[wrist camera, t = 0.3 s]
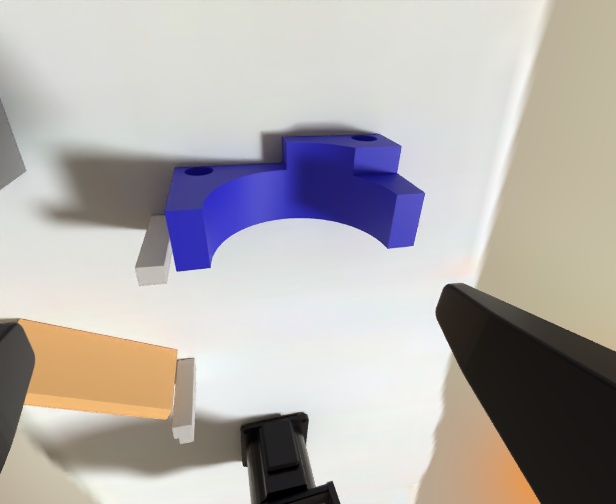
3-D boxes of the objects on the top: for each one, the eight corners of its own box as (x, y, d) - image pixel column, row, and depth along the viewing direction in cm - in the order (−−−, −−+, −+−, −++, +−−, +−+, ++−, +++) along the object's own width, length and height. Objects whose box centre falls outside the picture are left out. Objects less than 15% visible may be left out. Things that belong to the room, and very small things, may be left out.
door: (177, 349, 25) (172, 409, 21) (168, 367, 26) (161, 428, 22) (20, 318, 21) (-26, 386, 17) (13, 340, 22) (-31, 410, 18)
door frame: (197, 381, 28) (196, 448, 23) (182, 383, 27) (177, 452, 23) (173, 214, 20) (163, 265, 16) (151, 215, 20) (135, 268, 15)
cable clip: (378, 133, 21) (431, 162, 16) (369, 201, 23) (413, 246, 18) (170, 138, 18) (156, 176, 13) (183, 215, 21) (176, 271, 16)
